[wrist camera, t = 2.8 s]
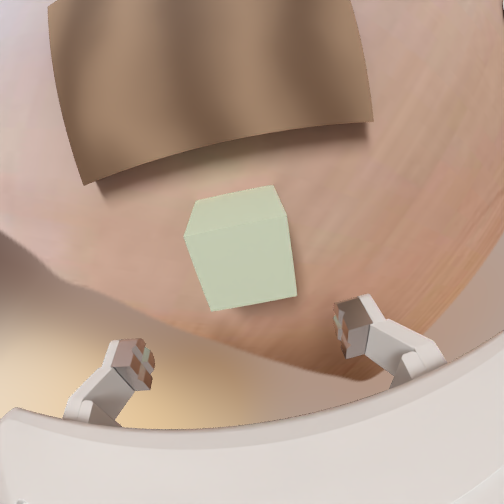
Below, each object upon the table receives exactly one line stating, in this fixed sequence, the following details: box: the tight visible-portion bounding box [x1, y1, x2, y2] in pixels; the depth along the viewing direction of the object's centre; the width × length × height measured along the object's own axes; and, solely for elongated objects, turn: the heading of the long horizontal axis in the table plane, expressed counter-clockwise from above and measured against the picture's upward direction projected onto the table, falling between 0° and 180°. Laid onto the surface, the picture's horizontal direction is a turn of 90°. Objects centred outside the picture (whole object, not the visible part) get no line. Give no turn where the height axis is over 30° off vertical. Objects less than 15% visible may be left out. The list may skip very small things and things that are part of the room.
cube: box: [184, 185, 297, 312], centre depth 16 cm, size 5×5×5 cm
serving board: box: [48, 0, 374, 186], centre depth 11 cm, size 18×14×2 cm
